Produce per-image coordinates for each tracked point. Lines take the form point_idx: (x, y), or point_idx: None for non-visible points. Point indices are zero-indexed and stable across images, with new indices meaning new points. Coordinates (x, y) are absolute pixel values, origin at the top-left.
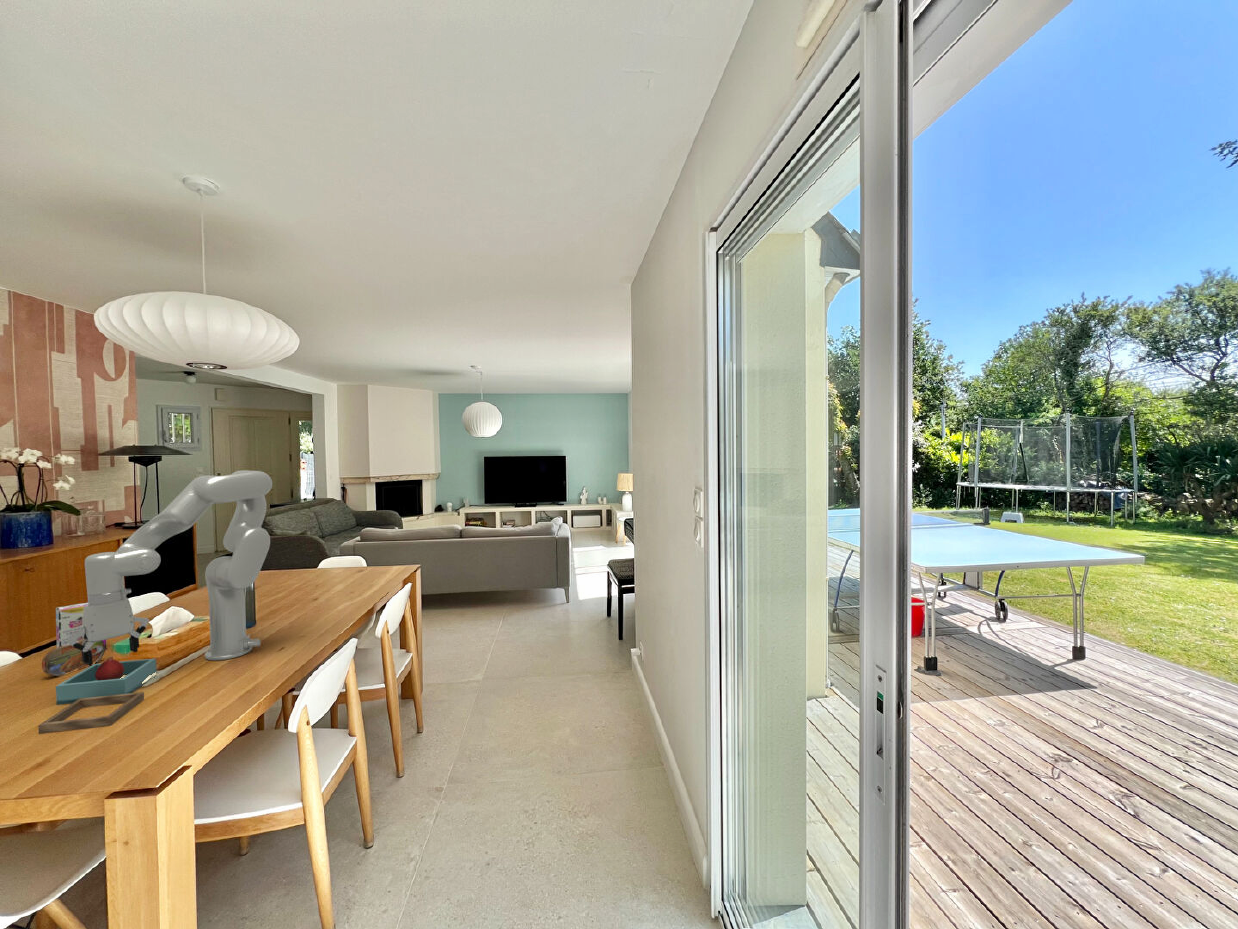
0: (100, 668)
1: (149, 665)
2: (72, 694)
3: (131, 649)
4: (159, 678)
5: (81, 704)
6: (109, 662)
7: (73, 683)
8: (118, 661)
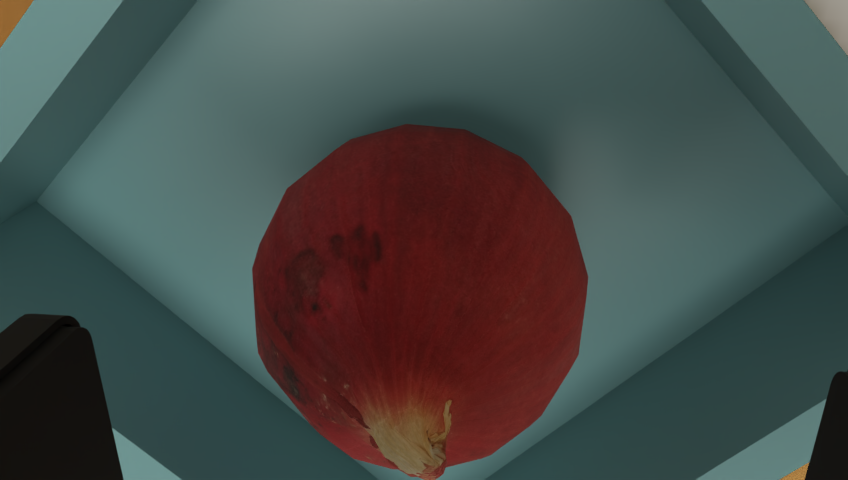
0: (277, 383)
1: None
2: None
3: (835, 460)
4: None
5: None
6: (380, 457)
7: None
8: (536, 373)
